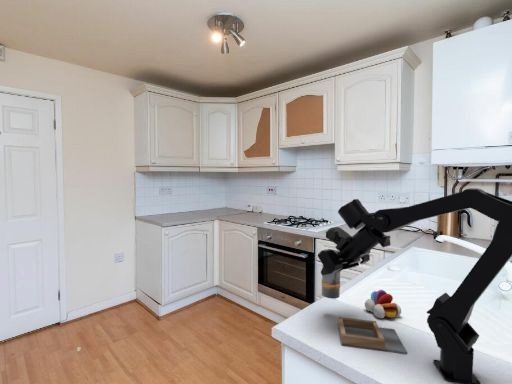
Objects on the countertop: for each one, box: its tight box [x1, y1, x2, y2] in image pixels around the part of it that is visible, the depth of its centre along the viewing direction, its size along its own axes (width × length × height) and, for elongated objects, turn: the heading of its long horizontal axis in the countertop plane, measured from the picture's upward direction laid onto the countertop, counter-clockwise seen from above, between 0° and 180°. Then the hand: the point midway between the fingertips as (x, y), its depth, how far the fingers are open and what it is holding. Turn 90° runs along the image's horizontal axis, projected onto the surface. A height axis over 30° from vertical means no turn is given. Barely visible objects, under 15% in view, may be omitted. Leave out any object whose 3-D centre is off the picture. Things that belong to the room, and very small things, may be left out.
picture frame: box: [337, 316, 408, 355], centre depth 73 cm, size 11×15×2 cm
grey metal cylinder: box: [321, 249, 341, 300], centre depth 84 cm, size 5×5×13 cm
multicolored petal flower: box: [364, 289, 402, 319], centre depth 87 cm, size 8×10×7 cm
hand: (327, 272), depth 85 cm, fingers closed on grey metal cylinder, 5 cm apart
